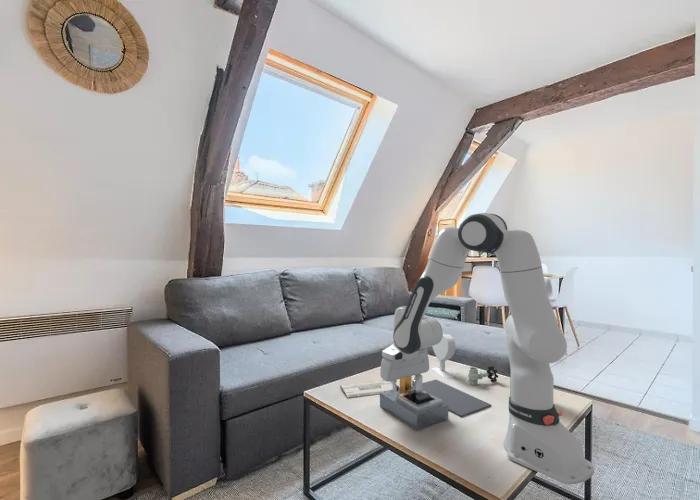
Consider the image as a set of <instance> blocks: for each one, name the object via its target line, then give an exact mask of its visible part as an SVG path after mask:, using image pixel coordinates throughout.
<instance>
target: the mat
mask: <svg viewBox="0 0 700 500" xmlns="http://www.w3.org/2000/svg"><path fill="white" fill-rule="evenodd" d="M412 386H413V385H412ZM413 387H415V386H413ZM422 390H424V391H425V392H427V393H429V394H431V395H433V396H435V397H437V398H439V399H441V400H442V402H444V403H446V404H447V405H449V406H448V412H450V413H452V414H454V415H456V416H458V417H460V418H462V417H465V416H468V415H471V414H474V413H476V412H480V411H482V410H484V409H488V408H489V407H492V404H490V403H488V402H487V401H484V400H482V399H479V398H478V397H475V396H473V395H471V394H469V393H466V392H465V391H462V390H460V389H459V388H456V387H453V386H451V385H450V384H447V383H445V382H442V381H441V380H439V379H433V380H429V381H425V382H422Z"/></svg>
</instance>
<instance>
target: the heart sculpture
mask: <svg viewBox="0 0 700 500" xmlns="http://www.w3.org/2000/svg"><path fill="white" fill-rule="evenodd" d="M431 347H432V350H433V352H434V355H435V356H436V359H437V360H438V362H439V367H437V366H435V367H431V368H430V369H431V370H433V371H435V372H436V373H437V374H438V375H439V376H441V377H443V378H447V379H448V378H449V379H451V378H454V375H453V374H451V373H449V372H448V371H447V370H446V362H447V361H448V360H450V359H452V357H454V354H455V351H456V341H455V339H454V337H453V336H452V335H450V334H446V332H444V331H443V335H442V339H441V341H440V342H439V343H438V344H436V345H434V346H431Z"/></svg>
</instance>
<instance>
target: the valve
mask: <svg viewBox="0 0 700 500" xmlns="http://www.w3.org/2000/svg"><path fill="white" fill-rule="evenodd" d="M468 368H469V369H468V371H469V372H468V375H467V377H468V384H469V385H471V386H478V385H479V382H478V380H483V378H486V377H487V378H488V379H489V380H490V382H492V383H493V382H494V383H495V382H497V381H498V379H497V378H499V374H497V373H498V370H497V369H495V367H494V366H493V365H492V366H487V370H486V372H481V371H479V370H478V369H479V368H478V367H475V366H472V367H471V366H470V367H468Z"/></svg>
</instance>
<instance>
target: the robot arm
mask: <svg viewBox="0 0 700 500" xmlns="http://www.w3.org/2000/svg"><path fill="white" fill-rule="evenodd" d="M471 251H473V252H478V253H485V254H495V256H496V259H497V262H498V263H497V264H498V268H499V273H500V279H501V280H500V281H501V284H502V290H503V294H504V299H505V302H506V304H507V306H508V310H509V312H510V315H509V316H507V318H506V320H505V321H504V330H505V335H506V336H505V337H506V346H507V353H508V359H509V360H508V361H509V366H510V367H509V368H510V375H511V396H509V397H508V412H509V419H508V426H507V430H506V434H505V439H504V441H503V447H504V449H505V450H506V452H507V458H508V459H509V460H510V461H512V462H515V463H516V464H519V465H522V466H523V467H526V468H528V469H530V470H532V471H535V472H537V473H539V474H541V475H543V476H546V477H549V478H550V479H553V480H555V481H557V482H560V483H562V484H564V485H577V484H581V483H584V482H586V481H588V480H589V479H591V477H593V476H594V473H595V466H594V464H593V463H592V462H591V461H589V460H588V459H586V458H585V455H584V450H583V449H584V447H583V446H582V444H581V442H580V440H578V439H577V437H576V436H574V435H573V433H572V432H571V431H570V430H569V429H568V428H567V427H566V426H565V425H564V424H563V423H562V422H561V421H560V420H561V419H560V417H562V416H563V412H564V411H563V410H561V411H557V408H556V406H555V404H554V375H553V372H552V370H551V367H550V365H551V364H553V363H557V362H558V361H560V360H562V358H563V357H564V356H565V355H566V352H567V350H568V349H567V348H568V344H567V340H566V337H565V336H564V334H563V332H562V330H561V328H560V326H559V323H558V320H557V317H556V314H555V312H554V308H553V306H552V304H551V301H550V298H549V296H548V292H547V288H546V287H547V286H546V281H545V275H544V271H543V267H542V261H541V257H540V253H539V250H538V247H537V244H536V242H535V239H534V236H532V234H531V233H529V232H528V231H526V230H520V229H517V230H508V225H507V223H506V221H505V220H504V219H503V218H502V217H501V216H499V215H497V214H495V213H488V212H480V213H474V214H471V215H469V216H467V217H466V218H464V219H463V220H462V222H461V223H460V224H459V226H458V227H455V226H450V227H445V228H442V229H441V230H440V231H439V233H438V235H437V236H436V239H435V241H434V244H433V245H432V248H431V252H430V255H429V258H428V261H427V264H426V266H425V268H424V270H423V272H422V274H421V275H420V277H419V279H418V280H417V281H416V283H415V285H414V287H413V289H412V292H411V294H410V297H409V299H408V301H407V304H406V305H402V306H399V307H397V308H395V310H394V314H393V316H394V317H393V336H392V337H393V343H392V344H391V345H389V346H388V347H386V348H385V349H383V350H382V351H381V356H382V359H381V362H380V374H379V375H380V378H381V379H382V380H385V381H387V382H389V381H390V382H391V384H392V386H393V391H395V392H396V391H399V387H400V385H397V380H400V379H401V378H405V377H409V376H412V377H413V376H414V377H413V379H412V386H415V376H416V375H422V374H425V373H427V372H428V371H429V370H430V360H429V355H428V354H429V353H428V352H429V351H428V348H429V347H432V346H434V345H436V344H438V343H439V342H440V341H441V339H442V335H443V332H444V331H443V328H442V325H441V323H440V322H439V321H438V320H437V319H435V318H433V317H430V316H429V315H426V313H427V309H428V307H429V305H430V303H431V302H432V301H433V300H434V299H435V298H437V297H439V296H440V295H441V294H442V293H444V292H447V291H448V290H450V289H452V288H453V287H455V285H456V284H457V283H458V281H459V280H460V278H461V276H462V273H463V272H464V271H463V270H464V267H465V264H466V261H467V258H468V255H469V254H470V252H471Z"/></svg>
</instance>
